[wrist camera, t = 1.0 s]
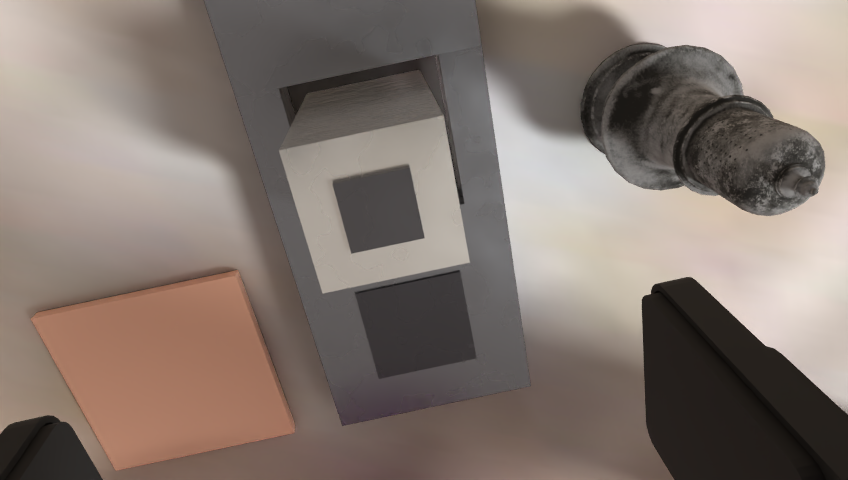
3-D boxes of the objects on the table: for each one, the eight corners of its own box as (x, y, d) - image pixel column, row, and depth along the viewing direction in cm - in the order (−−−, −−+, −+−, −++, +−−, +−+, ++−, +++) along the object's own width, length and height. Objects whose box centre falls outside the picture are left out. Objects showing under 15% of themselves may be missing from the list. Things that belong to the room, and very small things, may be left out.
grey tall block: (440, 177, 28) (471, 265, 20) (335, 199, 28) (322, 296, 20) (419, 69, 26) (444, 117, 17) (306, 93, 26) (277, 152, 17)
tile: (295, 425, 33) (294, 433, 33) (119, 462, 33) (115, 471, 33) (238, 270, 29) (235, 275, 28) (36, 312, 29) (30, 318, 28)
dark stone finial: (703, 146, 28) (912, 255, 18) (584, 179, 29) (716, 308, 18) (695, 19, 26) (933, 56, 15) (564, 57, 26) (705, 119, 15)
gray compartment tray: (521, 363, 33) (531, 387, 31) (343, 400, 33) (342, 427, 31) (446, -143, 23) (453, -154, 21) (188, -89, 23) (172, -94, 21)
